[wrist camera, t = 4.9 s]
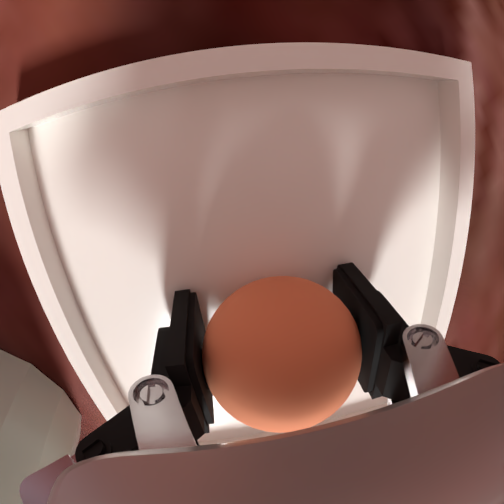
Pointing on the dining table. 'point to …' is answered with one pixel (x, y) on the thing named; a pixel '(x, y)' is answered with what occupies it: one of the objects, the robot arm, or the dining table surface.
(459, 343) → the dining table surface
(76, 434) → the cup
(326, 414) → the ball
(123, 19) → the dining table surface
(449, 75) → the tray
